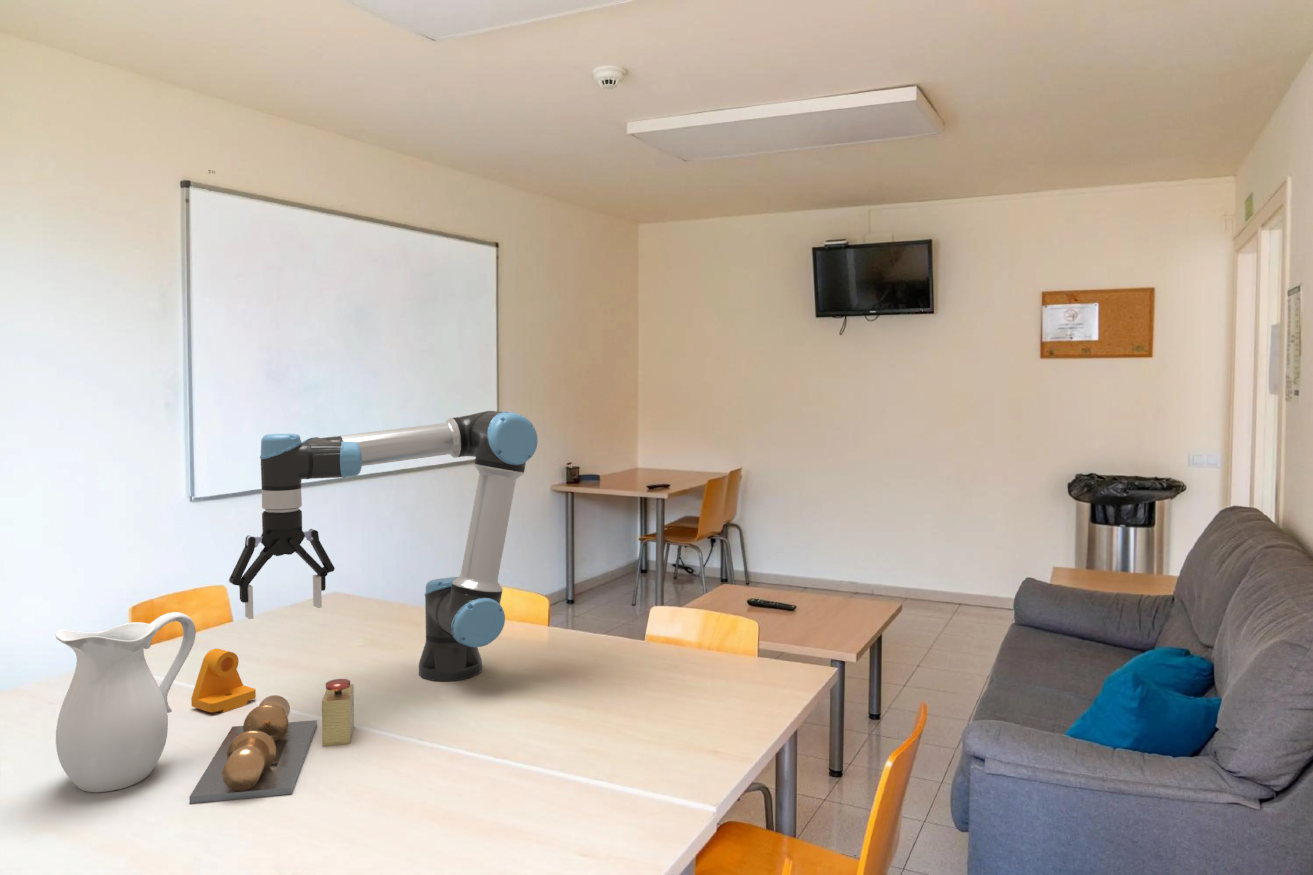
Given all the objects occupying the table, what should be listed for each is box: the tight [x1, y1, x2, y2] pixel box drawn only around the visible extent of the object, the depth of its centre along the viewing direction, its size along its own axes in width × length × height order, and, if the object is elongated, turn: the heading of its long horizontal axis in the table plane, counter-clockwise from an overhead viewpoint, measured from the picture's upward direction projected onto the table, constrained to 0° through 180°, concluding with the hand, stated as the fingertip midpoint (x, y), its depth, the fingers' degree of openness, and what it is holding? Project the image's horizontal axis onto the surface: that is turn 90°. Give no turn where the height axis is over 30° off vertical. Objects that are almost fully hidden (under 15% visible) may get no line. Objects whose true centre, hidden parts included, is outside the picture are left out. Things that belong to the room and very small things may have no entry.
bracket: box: [191, 648, 257, 714], centre depth 193 cm, size 11×7×12 cm, turn 149°
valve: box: [321, 678, 355, 747], centre depth 177 cm, size 5×9×11 cm, turn 13°
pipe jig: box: [188, 694, 318, 804], centre depth 166 cm, size 31×16×8 cm, turn 13°
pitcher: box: [55, 611, 197, 793], centre depth 160 cm, size 24×17×28 cm
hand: (284, 612), depth 183 cm, fingers open, 13 cm apart
